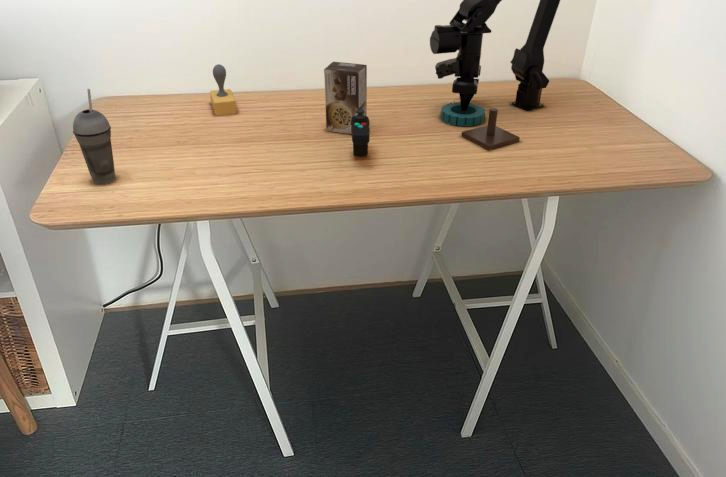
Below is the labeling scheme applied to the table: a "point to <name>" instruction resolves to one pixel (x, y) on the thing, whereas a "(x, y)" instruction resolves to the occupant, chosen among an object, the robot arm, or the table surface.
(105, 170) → the beverage cup
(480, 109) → the hoop
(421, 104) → the table surface
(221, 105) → the rubber stamp
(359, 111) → the controller
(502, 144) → the stand
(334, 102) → the coffee box
